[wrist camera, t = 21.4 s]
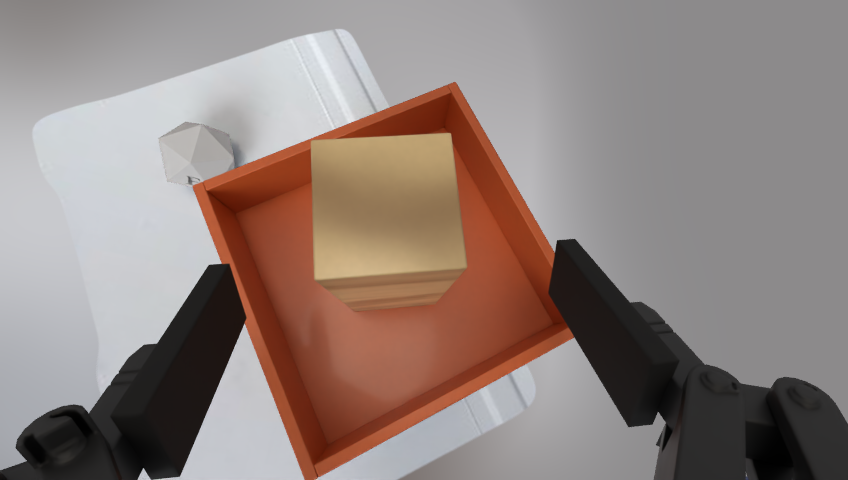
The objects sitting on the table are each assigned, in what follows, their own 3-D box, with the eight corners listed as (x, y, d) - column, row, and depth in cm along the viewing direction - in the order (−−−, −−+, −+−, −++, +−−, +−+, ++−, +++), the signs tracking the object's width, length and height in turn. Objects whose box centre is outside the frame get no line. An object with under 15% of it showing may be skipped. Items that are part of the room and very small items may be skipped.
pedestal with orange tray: (477, 337, 52) (597, 325, 21) (364, 396, 50) (306, 484, 18) (423, 230, 56) (455, 81, 24) (314, 280, 53) (191, 185, 22)
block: (435, 304, 25) (468, 268, 13) (354, 311, 24) (313, 280, 13) (427, 227, 26) (451, 131, 14) (350, 232, 25) (310, 139, 14)
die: (167, 173, 56) (143, 189, 47) (177, 110, 54) (154, 114, 45) (233, 189, 59) (222, 206, 50) (245, 129, 57) (236, 137, 48)
